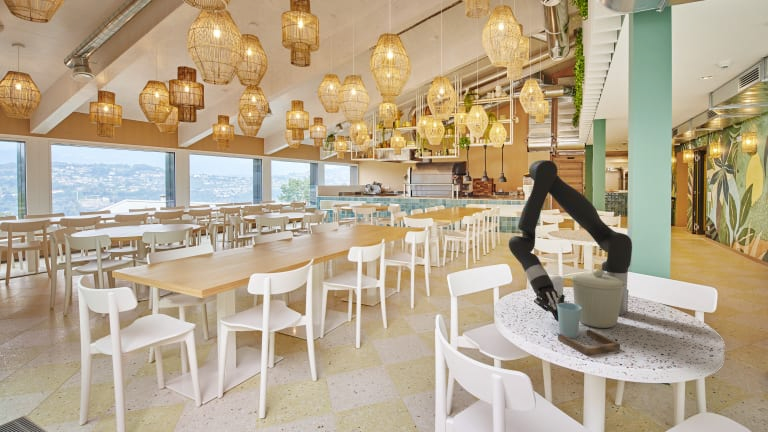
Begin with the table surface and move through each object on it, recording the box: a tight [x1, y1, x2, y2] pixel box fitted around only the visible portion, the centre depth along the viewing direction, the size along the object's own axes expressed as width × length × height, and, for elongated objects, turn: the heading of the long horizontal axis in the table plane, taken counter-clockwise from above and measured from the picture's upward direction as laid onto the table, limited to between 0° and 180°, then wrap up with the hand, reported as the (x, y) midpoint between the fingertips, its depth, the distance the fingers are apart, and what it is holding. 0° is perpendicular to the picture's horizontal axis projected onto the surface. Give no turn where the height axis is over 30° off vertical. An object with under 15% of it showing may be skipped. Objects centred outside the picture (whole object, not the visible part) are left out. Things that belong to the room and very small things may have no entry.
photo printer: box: [549, 274, 564, 295], centre depth 165 cm, size 10×4×12 cm, turn 123°
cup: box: [557, 302, 582, 339], centre depth 130 cm, size 8×8×10 cm
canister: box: [570, 268, 626, 329], centre depth 140 cm, size 18×18×21 cm
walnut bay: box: [557, 329, 621, 356], centre depth 122 cm, size 13×12×2 cm
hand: (560, 320), depth 134 cm, fingers closed
